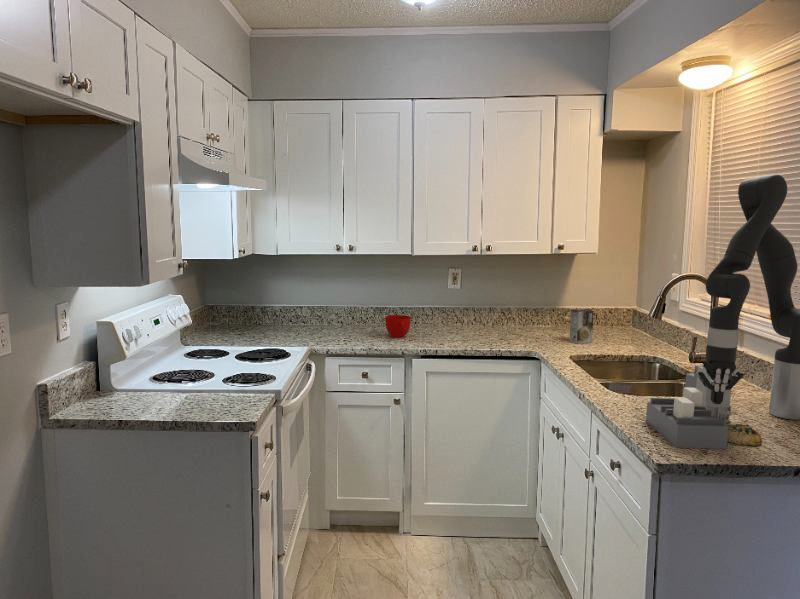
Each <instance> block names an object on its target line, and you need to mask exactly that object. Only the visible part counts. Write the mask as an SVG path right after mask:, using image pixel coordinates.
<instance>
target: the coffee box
mask: <svg viewBox="0 0 800 599" xmlns="http://www.w3.org/2000/svg"><path fill="white" fill-rule="evenodd" d="M594 311H595V310H592V309H589V308H578V309H577V308H575V309H570V322H569V324H570V326H569V342H571V343H574V344H576V345H578V344H579V343H580V344H591V343H593V333H594V332H593V330H594V313H595V312H594Z"/></svg>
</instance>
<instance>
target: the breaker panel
mask: <svg viewBox="0 0 800 599" xmlns="http://www.w3.org/2000/svg"><path fill="white" fill-rule="evenodd" d="M674 398H675V397H650V401H647V402H646V412H645V413H646V415H645V422H646V423H647V424H648V425H649V426H651V427H652V428H653V429H654V430H655V431H657V432H658V433H659V434H660V435H661V436H662V437H663V438H664V439H665V440H667V441H668V442H669V443H670V444H671V445H673V446H674V448H678V449H679V448H680V449H681V448H683V449H711V450H712V449H716V450H719V449H720V450H721V449H722V450H727V445H728V442H727V439H728V429H729V427H728V426H727V425H726V421H725V420H724V419H718V418H714V417H713V416H711V412H712V411H711V410H706V407H704V406H694V415H693V418H682V417H677V418H676V417H675V416H674V415H673V409H674Z"/></svg>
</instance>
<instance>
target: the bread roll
mask: <svg viewBox="0 0 800 599" xmlns="http://www.w3.org/2000/svg"><path fill="white" fill-rule="evenodd" d="M725 425H727V426H728V427H729V429H728V439H727V443H730V442H731V444H734V443H735V445H738V444H739V446H755V447H756V446H760V445H761V444H762V443H763V440H762V436H761V434H760V433H759V431H757V430H756V429H754V428H753V427H752V426H751V425H749V424H742V423H735V424H734V423H733V424H730V423H729V424H728V423H727V424H726V423H725Z"/></svg>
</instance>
